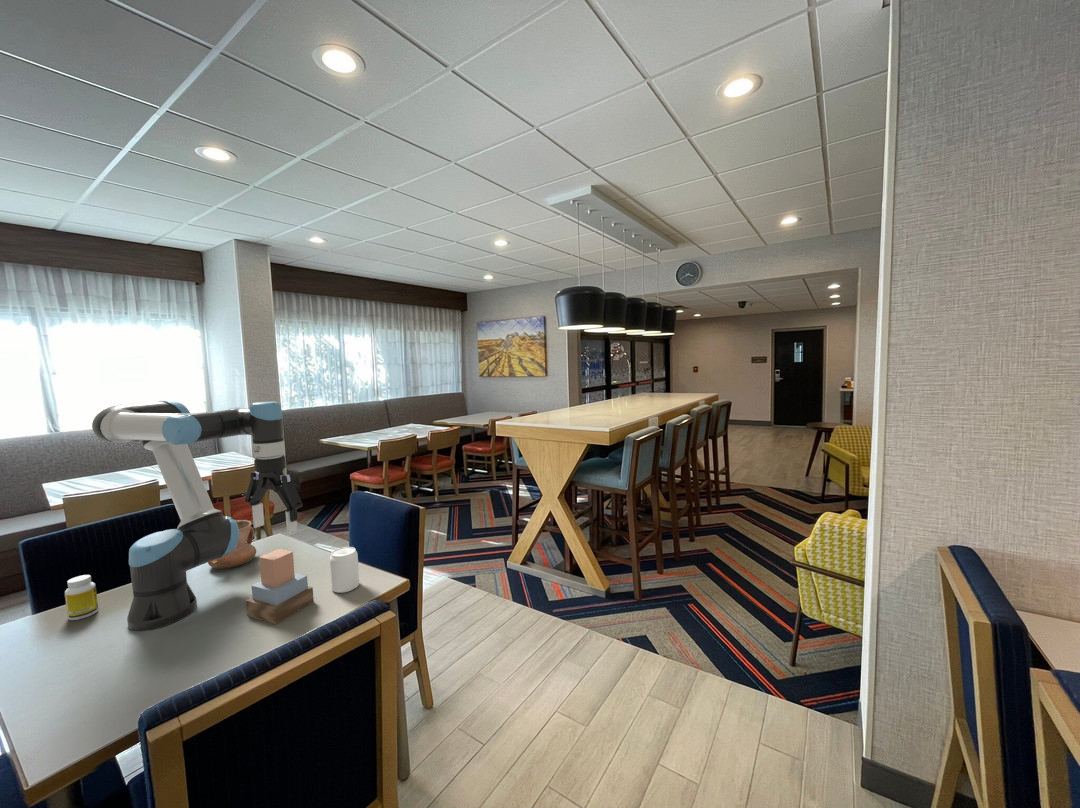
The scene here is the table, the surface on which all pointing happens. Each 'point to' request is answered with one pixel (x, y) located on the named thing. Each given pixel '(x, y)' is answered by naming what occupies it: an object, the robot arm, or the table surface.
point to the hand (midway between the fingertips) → (275, 529)
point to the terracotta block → (277, 567)
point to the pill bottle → (81, 598)
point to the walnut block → (279, 607)
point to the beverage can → (344, 569)
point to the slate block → (280, 590)
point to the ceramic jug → (238, 548)
